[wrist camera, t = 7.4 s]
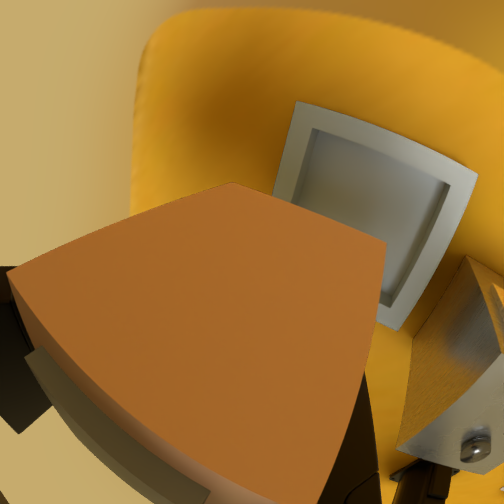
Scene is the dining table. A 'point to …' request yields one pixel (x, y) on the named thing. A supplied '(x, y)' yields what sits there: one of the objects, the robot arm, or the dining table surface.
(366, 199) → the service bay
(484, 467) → the junction box
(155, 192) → the dining table surface
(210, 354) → the block
